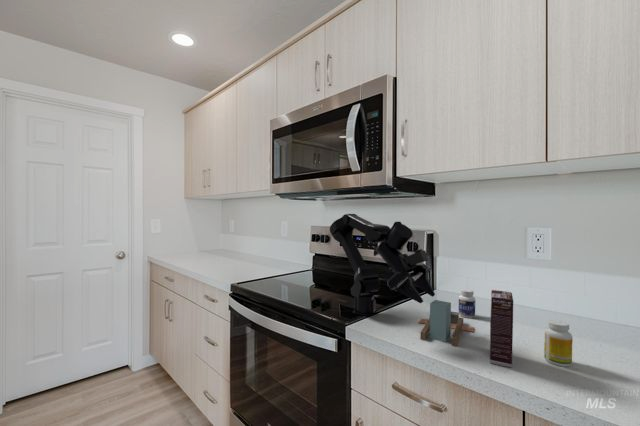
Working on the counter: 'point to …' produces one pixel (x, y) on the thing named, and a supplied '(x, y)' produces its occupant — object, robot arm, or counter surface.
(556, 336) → the supplement bottle
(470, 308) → the pill bottle
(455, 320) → the guide channel
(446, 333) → the block
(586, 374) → the counter surface
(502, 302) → the supplement box
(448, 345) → the counter surface
